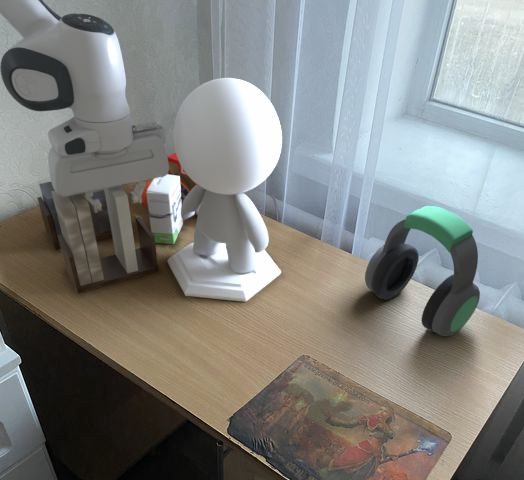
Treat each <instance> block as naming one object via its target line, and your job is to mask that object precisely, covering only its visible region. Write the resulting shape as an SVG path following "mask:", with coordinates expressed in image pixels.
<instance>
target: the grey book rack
mask: <svg viewBox="0 0 524 480" xmlns="http://www.w3.org/2000/svg"><path fill="white" fill-rule="evenodd" d="M38 185H39V189H40V190H39V191H40V194H41V196H37V198H36V199H37V204H38V206H39V211H40V213H41V217H42V221H43V225H44V229H45V231H46V233H47V236H48V238H49V240H50V241H51V243H52V246H53V247H54V250H55V251H59V250H61V248H60V244H59V240H58V237H57V236H58V235H62V231H61V228H60V224H59V220H58V216H57V212H56V208H55V204H54V200H53V196H52V192H51V191H55V190H54V188H53V186H52V182H51V181H47V182H46V181H45V182H41V183H38ZM92 198H93V199H94V200H96V199H99V201H100V202H101V204H102V210H103V211H102V212H98V213H94V212H93V210H92V206H91V203H90V202H89V201H88V200H87V199H86V201H87V202H88V204H89V208H90V213H91V218H92V223H93V228H94V233H95V238H96V241H99V240H104V239H108V238H111V237H112V231H111V225H110V220H109V214H108V208H107V202H106V197H105V191H104V189H101V190H96V191H93V196H92ZM62 236H63V235H62ZM112 238H113V237H112Z"/></svg>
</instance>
